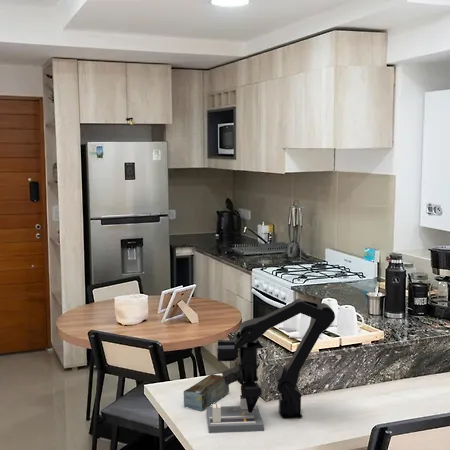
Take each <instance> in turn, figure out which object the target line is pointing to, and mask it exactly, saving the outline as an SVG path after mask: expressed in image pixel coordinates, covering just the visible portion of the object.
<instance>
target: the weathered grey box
mask: <svg viewBox="0 0 450 450" xmlns="http://www.w3.org/2000/svg"><path fill="white" fill-rule="evenodd" d="M229 386H230V384H229V385H226V383H225V381H224V378H223V375H222V374H221V375H219V374H217V375H216V374H213V373H211V374H209V375H208V376H206V377H205V378H203V379H202V380H200V381H198V382H197V383H195V384H193V385H191V386H190V387H188V388H187V389H185V390H183V407H184V408H186V407H188V409H191V408H192V409H191V410H195V409H196V411H199V410H200V412H203V411H204V410H207V407H211V406H212V405H211V404H215V403H216V402H218V401H220V399H222V398H224V397H225V396H226V395H227V393H228V392H229V393H230V387H229ZM229 393H228V394H229ZM224 395H225V396H224ZM221 397H222V398H221ZM217 400H218V401H217ZM214 402H215V403H214ZM210 405H211V406H210Z"/></svg>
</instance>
